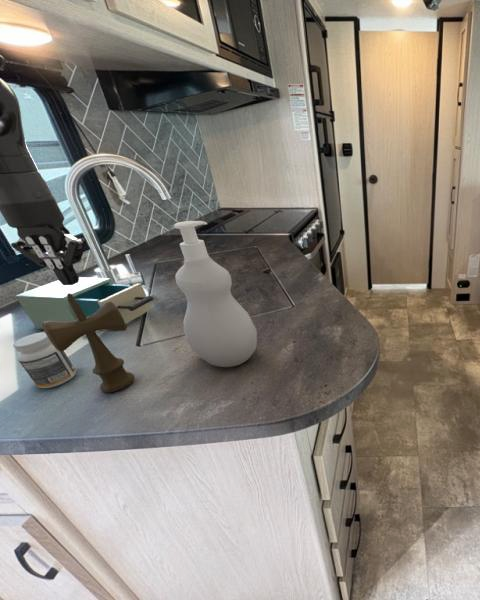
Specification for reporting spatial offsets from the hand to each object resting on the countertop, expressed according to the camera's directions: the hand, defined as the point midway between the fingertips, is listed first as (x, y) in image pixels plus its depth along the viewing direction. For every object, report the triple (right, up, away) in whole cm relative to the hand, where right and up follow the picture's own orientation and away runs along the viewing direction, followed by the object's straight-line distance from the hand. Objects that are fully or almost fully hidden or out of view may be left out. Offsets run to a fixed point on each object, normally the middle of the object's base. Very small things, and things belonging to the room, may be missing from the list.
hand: (71, 283), depth 66 cm
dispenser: (-17, -8, +20) cm, 28 cm away
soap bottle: (+32, -16, +3) cm, 36 cm away
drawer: (-5, -8, +18) cm, 20 cm away
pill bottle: (0, -20, -3) cm, 20 cm away
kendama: (+14, -20, -5) cm, 25 cm away
